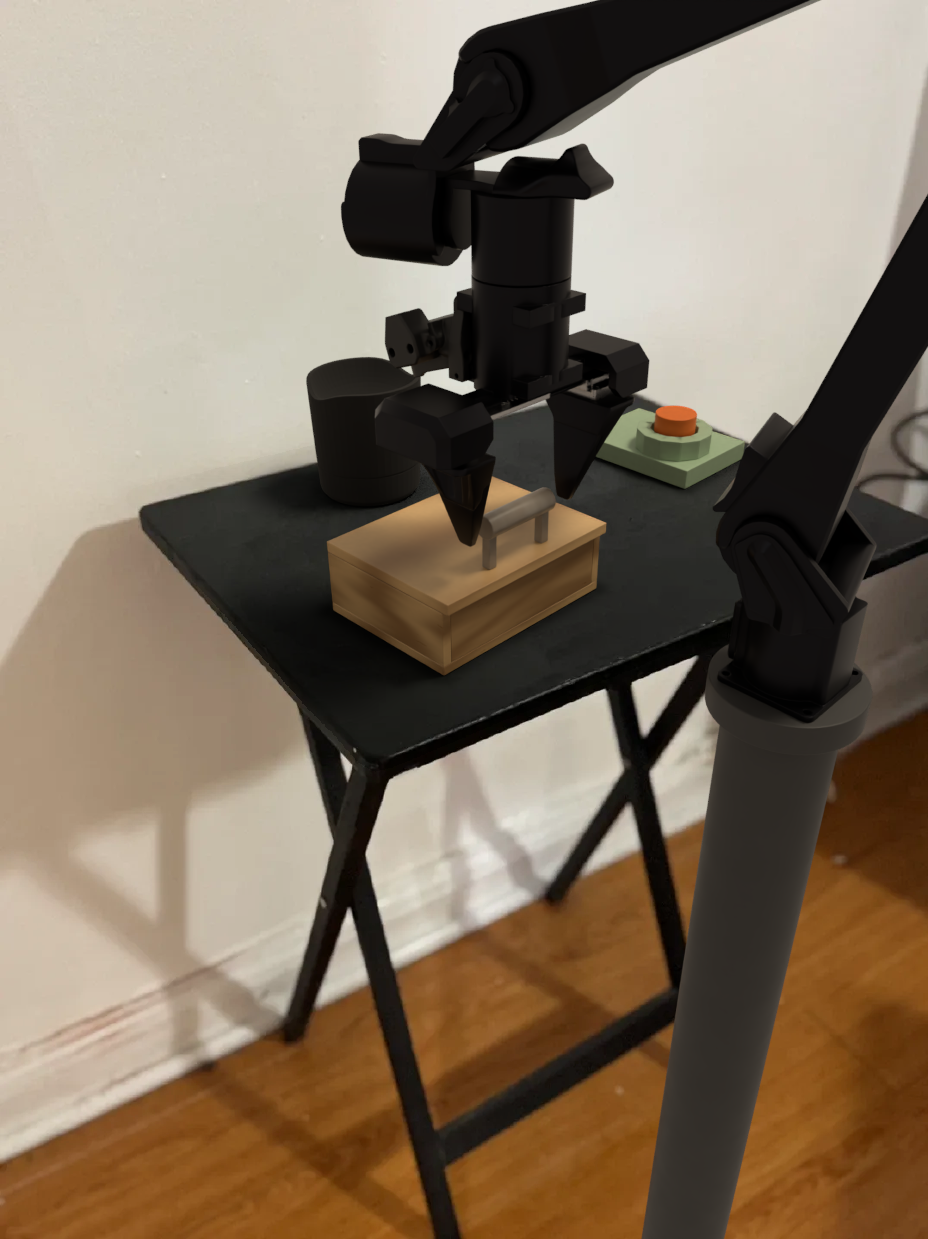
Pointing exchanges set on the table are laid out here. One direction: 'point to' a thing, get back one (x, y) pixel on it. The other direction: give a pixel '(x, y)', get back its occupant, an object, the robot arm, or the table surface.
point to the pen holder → (358, 431)
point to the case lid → (453, 572)
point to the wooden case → (472, 626)
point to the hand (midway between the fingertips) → (517, 519)
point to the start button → (675, 421)
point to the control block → (669, 450)
